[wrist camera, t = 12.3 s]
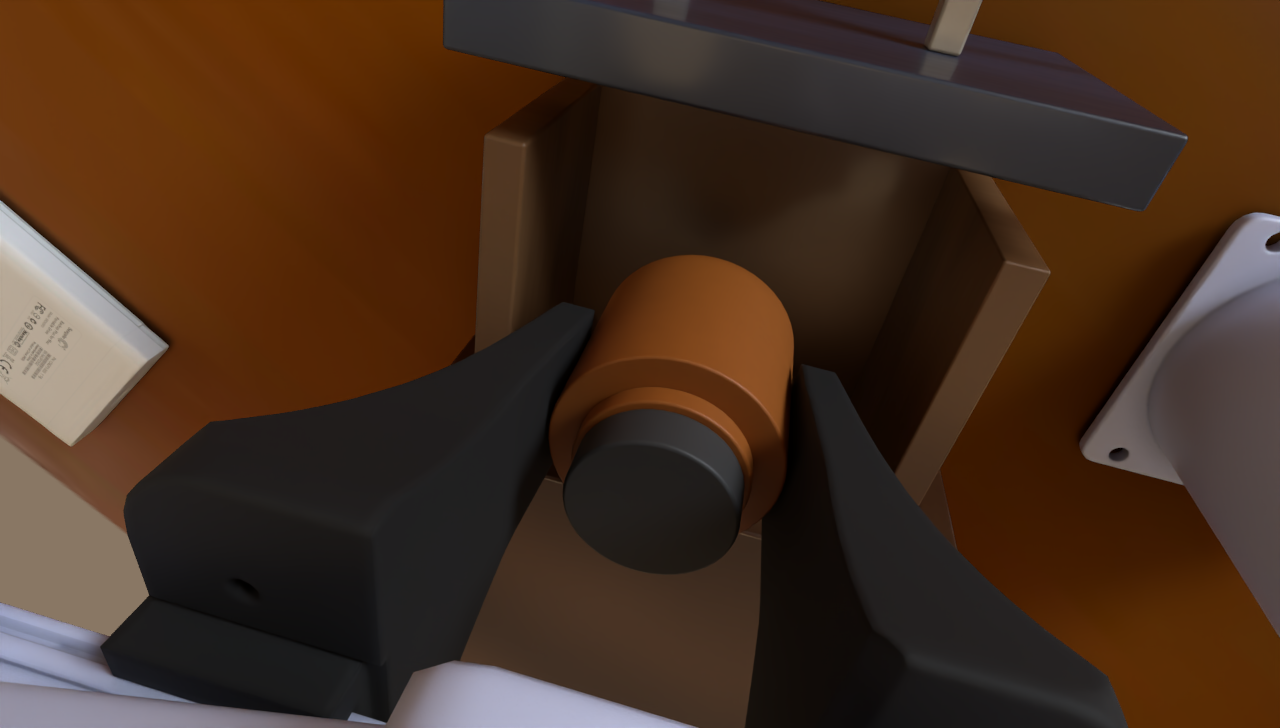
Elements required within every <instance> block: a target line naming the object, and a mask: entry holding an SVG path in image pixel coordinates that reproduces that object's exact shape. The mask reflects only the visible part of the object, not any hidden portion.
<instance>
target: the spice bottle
mask: <svg viewBox="0 0 1280 728" xmlns="http://www.w3.org/2000/svg"><path fill="white" fill-rule="evenodd" d="M793 354H794V338H793V331H792V326H791V323H790V320H789V317H788V314H787V312H786V310H785V308H784V307H783V305H782V303H781V301H780V300H779V299H778V297H777V296H776V295H775V293H774V292H773V291H772V290H771V289H770V288H769V287H768V286H767V285H766V284H765V283H764V282H763V281H762V280H760V279H759V278H758V277H757V276H755V275H754V274H752V273H751V272H749V271H748V270H746V269H744V268H743V267H740V266H738V265H736V264H734V263H732V262H729V261H726V260H722V259H719V258H715V257H709V256H703V255H678V256H672V257H667V258H663V259H660V260H657V261H654V262H651V263H649V264H647V265H645V266H643V267H641V268H639V269H638V270H636V271H635V272H633V273H632V274H631V275H630V276H628V277H627V278H626V279H625V280H624V281H623V282H622V283H621V284H620V286H619V287H618V288H617V289H616V290H615V292H614V294H613V295H612V297H611V299H610V300H609V302H608V304H607V306H606V308H605V310H604V312H603V314H602V316H601V318H600V320H599V321H598V323H597V325H596V327H595V329H594V331H593V333H592V335H591V337H590V339H589V341H588V343H587V344H586V346H585V348H584V350H583V352H582V354H581V356H580V358H579V360H578V362H577V364H576V366H575V367H574V369H573V371H572V373H571V375H570V377H569V379H568V381H567V383H566V385H565V387H564V388H563V390H562V392H561V394H560V396H559V398H558V400H557V402H556V404H555V407H554V409H553V411H552V414H551V418H550V423H549V435H548V439H549V447H550V453H551V457H552V460H553V464H554V466H555V468H556V470H557V473H558V475H559V477H560V478H561V480H562V482H563V483H564V484H563V494H562V495H563V504H564V508H565V512H566V515H567V517H568V519H569V522H570V523H571V525H572V527H573V528H574V530H575V531H576V533H577V534H578V535H579V536H580V538H581V539H582V540H583V541H584V542H585V543H586V544H587V545H588V546H590V547H591V548H592V549H593V550H595V551H596V552H597V553H599V554H600V555H602V556H603V557H605V558H607V559H609V560H610V561H612V562H614V563H616V564H619V565H621V566H623V567H626V568H629V569H632V570H636V571H640V572H644V573H650V574H658V575H678V574H685V573H690V572H694V571H698V570H700V569H703V568H706V567H708V566H710V565H711V564H713V563H715V562H716V561H718V560H719V559H720V558H722V557H723V556H724V555H725V554H726V553H727V552H728V551H729V549H730V548H731V547H732V545H733V544H734V542H735V540H736V538H737V536H738V534H739V533H741V532H743V531H745V530H747V529H749V528H750V527H752V526H753V525H754V524H756V523H757V522H759V521H760V520H761V519H762V518H763V517H764V516H765V515H766V514H767V513H768V512H769V511H770V510H771V508H772V507H773V505H774V504H775V503H776V501H777V500H778V498H779V496H780V494H781V492H782V490H783V486H784V483H785V480H786V474H787V465H788V446H789V428H790V409H791V391H792V372H793Z"/></svg>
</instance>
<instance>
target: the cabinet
mask: <svg viewBox="0 0 1280 728" xmlns="http://www.w3.org/2000/svg"><path fill="white" fill-rule="evenodd" d="M473 354H475V335H474V336H473V337H472V339H471V340H470V341H469V342H468V344H467V345H466V346H465V348H464V349H463V350H462V351H461V353H460V354H459V355H458V356H457V358H456V359H455V360H454V361H453V363H452V364H451V365H453V364H455V363H457V362H459V361H461V360H463V359H465V358H467V357H469V356H471V355H473ZM563 484H564V483H563V482H562V480H561V478H560V477H559V475H558V473H557V470H556V468H555V466H554V464H553V463H552V465H551V467H550V469H549V471H548V473H547V474H546V476H545V478H544V480H543V482H542V483H541V485H540V487H539V489H538V491H537V492H536V494H535V496H534V498H533V500H532V501H531V503H530V505H529V507H528V509H527V510H526V512H525V514H524V516H523V518H522V519H521V521H520V523H519V525H518V527H517V528H516V530H515V532H514V534H513V536H512V538H511V540H510V542H509V544H508V546H507V548H506V550H505V552H504V555H503V557H502V559H501V562H500V564H499V566H498V569H497V571H496V574H495V576H494V578H493V581H492V583H491V585H490V588H489V590H488V593H487V595H486V597H485V600H484V602H483V605H482V607H481V610H480V612H479V615H478V617H477V620H476V622H475V624H474V627H473V629H472V632H471V634H470V637H469V639H468V642H467V644H466V647H465V649H464V652H463V654H462V657H461V660H460V661H462V662H469V663H476V664H484V665H491V666H496V667H500V668H503V669H506V670H510V671H513V672H516V673H520V674H523V675H526V676H529V677H533V678H536V679H539V680H543V681H546V682H549V683H553V684H556V685H559V686H563V687H566V688H569V689H572V690H576V691H579V692H582V693H586V694H589V695H592V696H596V697H599V698H602V699H605V700H609V701H612V702H615V703H619V704H622V705H625V706H629V707H632V708H635V709H639V710H642V711H645V712H648V713H652V714H655V715H658V716H662V717H665V718H668V719H672V720H675V721H678V722H681V723H685V724H688V725H691V726H695V727H698V728H745V722H746V715H747V708H748V701H749V694H750V687H751V680H752V672H753V664H754V657H755V649H756V641H757V633H758V625H759V611H760V581H761V530H762V519H761V520H760V521H759V522H757V523H756V524H754V525H753V526H752V527H750V528H749V529H747V530H745V531H743V532H741V533H739V534H738V536H737V538H736V540H735V542H734V544H733V545H732V547H731V548H730V549H729V551H728V552H727V553H726V554H725V555H724V556H723V557H722V558H720V559H719V560H718V561H716V562H715V563H713V564H711V565H710V566H708V567H706V568H703V569H700V570H698V571H694V572H690V573H685V574H678V575H658V574H650V573H644V572H640V571H636V570H632V569H629V568H626V567H623V566H621V565H619V564H616V563H614V562H612V561H610V560H609V559H607V558H605V557H603V556H602V555H600V554H599V553H597V552H596V551H595V550H593V549H592V548H591V547H590V546H588V545H587V544H586V543H585V542H584V541H583V540H582V539H581V538H580V536H579V535H578V534H577V533H576V531H575V530H574V528H573V527H572V525H571V523H570V522H569V519H568V517H567V515H566V512H565V508H564V504H563V495H562V494H563ZM919 507H920V508H921V510H922V511H923V512H924V513H925V514H926V516H927V517H928V518H929V519H930V520H931V522H932V523H933V524H934V525H935V526H936V528H937V529H938V530H939V531H940V532H941V533H942V534H943V535H944V537H945V538H946V539H947V540H948V541H949V542H950V543H951V544H952V545H953V546H954V547H955V548H956V549H957V545H956V541H955V536H954V532H953V527H952V522H951V518H950V513H949V508H948V504H947V499H946V494H945V490H944V485H943V480H942V476H941V471H940V470H939V471H938V473H937V475H936V477H935V478H934V480H933V482H932V484H931V485H930V487H929V489H928V491H927V492H926V494H925V496H924V498H923V500H922V501H921V503H920V505H919Z"/></svg>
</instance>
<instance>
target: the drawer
mask: <svg viewBox="0 0 1280 728" xmlns="http://www.w3.org/2000/svg"><path fill="white" fill-rule="evenodd" d="M981 3H982V0H940V1H939V3H938V6H937V9H936V11H935V14H934V17H933V19H932V22H931V25H928V24H923V23H919V22H914V21H909V20H905V19H900V18H896V17H891V16H887V15H882V14H878V13H873V12H869V11H864V10H859V9H855V8H850V7H846V6H841V5H837V4H832V3H828V2H823V1H819V0H444V13H443V45H444V47H445V48H446V49H448V50H453V51H457V52H461V53H465V54H470V55H474V56H478V57H483V58H487V59H491V60H495V61H500V62H504V63H508V64H512V65H517V66H521V67H525V68H529V69H534V70H538V71H542V72H546V73H551V74H555V75H559V76H563V77H566V78H565V79H563V80H562V81H561V82H559V83H558V84H556V85H555V86H553V87H552V88H551V89H549V90H548V91H546V92H545V93H543V94H542V95H541V96H539V97H538V98H536V99H535V100H534V101H532V102H531V103H529V104H528V105H526V106H525V107H524V108H522V109H521V110H519V111H518V112H516V113H515V114H514V115H512V116H511V117H509V118H508V119H506V120H505V121H504V122H502V123H501V124H499V125H498V126H496V127H495V128H494V129H492V130H491V131H489V132H488V133H487V134H485V136H484V154H483V177H482V199H481V222H480V244H479V267H478V289H477V312H476V334H475V353H477V352H479V351H481V350H483V349H485V348H487V347H488V346H490V345H492V344H494V343H495V342H497V341H499V340H501V339H502V338H504V337H506V336H508V335H509V334H511V333H513V332H514V331H516V330H518V329H519V328H521V327H523V326H524V325H526V324H527V323H529V322H531V321H532V320H534V319H535V318H537V317H539V316H540V315H542V314H543V313H545V312H547V311H548V310H550V309H551V308H553V307H555V306H557V305H558V304H560V303H562V302H566V303H569V304H573V305H577V306H581V307H585V308H589V309H593V310H595V313H594V319H593V326H592V332H591V335H592V333H593V331H594V329H595V327H596V325H597V323H598V321H599V320H600V318H601V316H602V314H603V312H604V310H605V308H606V306H607V304H608V302H609V300H610V299H611V297H612V295H613V294H614V292H615V290H616V289H617V288H618V287H619V286H620V284H621V283H622V282H623V281H624V280H625V279H626V278H627V277H628V276H630V275H631V274H632V273H633V272H635V271H636V270H638V269H639V268H641V267H643V266H645V265H647V264H649V263H651V262H654V261H657V260H660V259H663V258H667V257H672V256H678V255H703V256H709V257H715V258H719V259H722V260H726V261H729V262H732V263H734V264H736V265H738V266H740V267H743V268H744V269H746V270H748V271H749V272H751V273H752V274H754V275H755V276H757V277H758V278H759V279H760V280H762V281H763V282H764V283H765V284H766V285H767V286H768V287H769V288H770V289H771V290H772V291H773V292H774V293H775V295H776V296H777V297H778V299H779V300H780V301H781V303H782V305H783V307H784V308H785V310H786V312H787V314H788V317H789V320H790V323H791V326H792V331H793V338H794V354H793V372H792V388H793V385H794V382H795V380H796V377H797V374H798V372H799V369H800V366H801V364H804V365H808V366H812V367H816V368H820V369H823V370H827V371H831V372H835V373H836V375H837V376H838V378H839V380H840V382H841V384H842V386H843V387H844V389H845V391H846V393H847V395H848V397H849V399H850V401H851V403H852V404H853V406H854V408H855V410H856V412H857V414H858V416H859V417H860V419H861V421H862V423H863V425H864V426H865V428H866V430H867V432H868V433H869V435H870V437H871V438H872V440H873V442H874V443H875V445H876V447H877V448H878V450H879V452H880V453H881V455H882V456H883V458H884V459H885V461H886V462H887V464H888V465H889V467H890V468H891V470H892V471H893V472H894V474H895V475H896V477H897V478H898V480H899V481H900V482H901V484H902V485H903V487H904V488H905V489H906V491H907V492H908V493H909V495H910V496H911V497H912V499H913V500H914V501H915V502H916V504H917V505H918V506H919V505H920V503H921V501H922V500H923V498H924V496H925V494H926V492H927V491H928V489H929V487H930V485H931V484H932V482H933V480H934V478H935V477H936V475H937V473H938V471H939V470H940V468H941V466H942V464H943V462H944V461H945V459H946V457H947V455H948V454H949V452H950V450H951V448H952V447H953V445H954V443H955V441H956V440H957V438H958V436H959V434H960V432H961V431H962V429H963V427H964V425H965V424H966V422H967V420H968V418H969V417H970V415H971V413H972V411H973V410H974V408H975V406H976V404H977V402H978V401H979V399H980V397H981V395H982V394H983V392H984V390H985V388H986V387H987V385H988V383H989V381H990V380H991V378H992V376H993V374H994V372H995V371H996V369H997V367H998V365H999V364H1000V362H1001V360H1002V358H1003V357H1004V355H1005V353H1006V351H1007V350H1008V348H1009V346H1010V344H1011V342H1012V341H1013V339H1014V337H1015V335H1016V334H1017V332H1018V330H1019V328H1020V327H1021V325H1022V323H1023V321H1024V320H1025V318H1026V316H1027V314H1028V312H1029V311H1030V309H1031V307H1032V305H1033V304H1034V302H1035V300H1036V298H1037V297H1038V295H1039V293H1040V291H1041V290H1042V288H1043V286H1044V284H1045V282H1046V281H1047V279H1048V277H1049V275H1050V270H1049V268H1048V267H1047V265H1046V264H1045V262H1044V260H1043V259H1042V257H1041V256H1040V254H1039V252H1038V251H1037V249H1036V248H1035V246H1034V245H1033V243H1032V241H1031V240H1030V238H1029V237H1028V235H1027V233H1026V232H1025V230H1024V229H1023V227H1022V225H1021V224H1020V222H1019V221H1018V219H1017V217H1016V216H1015V214H1014V213H1013V211H1012V209H1011V208H1010V206H1009V205H1008V203H1007V202H1006V200H1005V198H1004V197H1003V195H1002V194H1001V192H1000V190H999V189H998V187H997V186H996V184H995V182H994V181H993V179H992V178H991V177H994V178H998V179H1002V180H1007V181H1011V182H1015V183H1019V184H1024V185H1028V186H1032V187H1036V188H1041V189H1045V190H1049V191H1053V192H1058V193H1062V194H1066V195H1070V196H1075V197H1079V198H1083V199H1088V200H1092V201H1096V202H1100V203H1105V204H1109V205H1113V206H1117V207H1122V208H1126V209H1130V210H1134V211H1144V210H1145V209H1146V208H1147V206H1148V204H1149V203H1150V201H1151V199H1152V198H1153V196H1154V195H1155V193H1156V191H1157V190H1158V188H1159V186H1160V185H1161V183H1162V182H1163V180H1164V178H1165V177H1166V175H1167V174H1168V172H1169V170H1170V169H1171V167H1172V165H1173V164H1174V162H1175V161H1176V159H1177V157H1178V156H1179V154H1180V152H1181V151H1182V149H1183V148H1184V146H1185V144H1186V143H1187V141H1188V136H1187V135H1185V134H1184V133H1182V132H1181V131H1179V130H1178V129H1176V128H1175V127H1173V126H1171V125H1170V124H1168V123H1167V122H1165V121H1164V120H1162V119H1160V118H1159V117H1157V116H1156V115H1154V114H1153V113H1151V112H1149V111H1148V110H1146V109H1145V108H1143V107H1142V106H1140V105H1138V104H1137V103H1135V102H1134V101H1132V100H1131V99H1129V98H1127V97H1126V96H1124V95H1123V94H1121V93H1120V92H1118V91H1116V90H1115V89H1113V88H1112V87H1110V86H1108V85H1107V84H1105V83H1104V82H1102V81H1101V80H1099V79H1097V78H1096V77H1094V76H1093V75H1091V74H1090V73H1088V72H1086V71H1085V70H1083V69H1082V68H1080V67H1079V66H1077V65H1075V64H1074V63H1072V62H1071V61H1069V60H1068V59H1066V58H1064V57H1063V56H1061V55H1060V54H1058V53H1055V52H1050V51H1046V50H1041V49H1037V48H1032V47H1028V46H1023V45H1019V44H1014V43H1009V42H1005V41H1000V40H996V39H991V38H987V37H982V36H978V35H973V34H969V32H970V30H971V27H972V25H973V22H974V20H975V18H976V15H977V13H978V10H979V8H980V5H981Z"/></svg>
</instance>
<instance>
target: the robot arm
mask: <svg viewBox="0 0 1280 728" xmlns="http://www.w3.org/2000/svg"><path fill="white" fill-rule="evenodd" d="M1279 232H1280V217H1279V216H1274V215H1270V214H1266V213H1251V214H1247V215H1244V216H1242V217H1241V218H1239V219H1237V220H1236V221H1235V222H1234V223H1233V224H1232V225H1231V226H1230V227H1229V228H1228V230H1227V231H1226V232H1225V234H1224V235H1223V237H1222V238H1221V240H1220V241H1219V242H1218V244H1217V245H1216V247H1215V248H1214V250H1213V251H1212V252H1211V254H1210V255H1209V257H1208V258H1207V260H1206V261H1205V262H1204V264H1203V265H1202V267H1201V268H1200V270H1199V271H1198V272H1197V274H1196V275H1195V277H1194V278H1193V280H1192V281H1191V282H1190V284H1189V285H1188V287H1187V288H1186V290H1185V291H1184V292H1183V294H1182V295H1181V297H1180V298H1179V300H1178V301H1177V302H1176V304H1175V305H1174V307H1173V308H1172V310H1171V311H1170V312H1169V314H1168V315H1167V317H1166V318H1165V320H1164V321H1163V322H1162V324H1161V325H1160V327H1159V328H1158V330H1157V331H1156V332H1155V334H1154V335H1153V337H1152V338H1151V340H1150V341H1149V342H1148V344H1147V345H1146V347H1145V348H1144V350H1143V351H1142V352H1141V354H1140V355H1139V357H1138V358H1137V360H1136V361H1135V362H1134V364H1133V365H1132V367H1131V368H1130V370H1129V371H1128V372H1127V374H1126V375H1125V377H1124V378H1123V380H1122V381H1121V382H1120V384H1119V385H1118V387H1117V388H1116V390H1115V391H1114V392H1113V394H1112V395H1111V397H1110V398H1109V400H1108V401H1107V402H1106V404H1105V405H1104V407H1103V408H1102V410H1101V411H1100V412H1099V414H1098V415H1097V417H1096V418H1095V420H1094V421H1093V422H1092V424H1091V425H1090V427H1089V428H1088V430H1087V431H1086V432H1085V434H1084V435H1083V437H1082V438H1081V440H1080V443H1079V446H1080V450H1081V452H1082V454H1083V455H1084V456H1085V458H1086V459H1088V460H1090V461H1093V462H1097V463H1100V464H1104V465H1108V466H1112V467H1116V468H1119V469H1123V470H1127V471H1131V472H1135V473H1139V474H1142V475H1146V476H1150V477H1154V478H1158V479H1161V480H1165V481H1169V482H1173V483H1177V484H1181V485H1184V486H1185V487H1186V489H1187V490H1188V492H1189V494H1190V495H1191V497H1192V498H1193V500H1194V502H1195V503H1196V505H1197V506H1198V508H1199V510H1200V511H1201V513H1202V514H1203V516H1204V518H1205V519H1206V521H1207V522H1208V524H1209V526H1210V527H1211V529H1212V530H1213V532H1214V534H1215V535H1216V537H1217V538H1218V540H1219V542H1220V543H1221V545H1222V546H1223V548H1224V549H1225V551H1226V553H1227V554H1228V556H1229V557H1230V559H1231V561H1232V562H1233V564H1234V565H1235V567H1236V569H1237V570H1238V572H1239V573H1240V575H1241V577H1242V578H1243V580H1244V581H1245V583H1246V585H1247V586H1248V588H1249V589H1250V591H1251V593H1252V594H1253V596H1254V597H1255V599H1256V601H1257V602H1258V604H1259V605H1260V607H1261V608H1262V610H1263V612H1264V613H1265V615H1266V616H1267V618H1268V620H1269V621H1270V623H1271V624H1272V626H1273V628H1274V629H1275V631H1276V632H1277V634H1278V636H1279V637H1280V240H1279V241H1278V242H1277V243H1275V244H1273V245H1270V246H1265V244H1266V241H1267V239H1268V238H1270V237H1271V236H1272V235H1274V234H1276V233H1279ZM594 313H595V310H593V309H589V308H585V307H581V306H577V305H573V304H569V303H566V302H562V303H560V304H558V305H557V306H555V307H553V308H551V309H550V310H548V311H547V312H545V313H543V314H542V315H540V316H539V317H537V318H535V319H534V320H532V321H531V322H529V323H527V324H526V325H524V326H523V327H521V328H519V329H518V330H516V331H514V332H513V333H511V334H509V335H508V336H506V337H504V338H502V339H501V340H499V341H497V342H495V343H494V344H492V345H490V346H488V347H487V348H485V349H483V350H481V351H479V352H477V353H475V354H473V355H471V356H469V357H467V358H465V359H463V360H461V361H459V362H457V363H455V364H453V365H450V366H448V367H446V368H443V369H441V370H439V371H436V372H434V373H431V374H429V375H426V376H423V377H421V378H418V379H416V380H413V381H410V382H407V383H405V384H402V385H399V386H395V387H392V388H388V389H385V390H382V391H378V392H375V393H371V394H368V395H365V396H361V397H358V398H354V399H350V400H346V401H342V402H337V403H333V404H329V405H324V406H319V407H314V408H309V409H304V410H298V411H293V412H287V413H280V414H273V415H265V416H257V417H249V418H241V419H233V420H225V421H214V422H210V423H208V424H207V425H206V426H205V427H203V428H202V429H201V430H200V431H198V432H197V433H196V434H195V435H193V436H192V437H191V438H190V439H189V440H187V441H186V442H185V443H184V444H183V445H182V446H180V447H179V448H178V449H177V450H176V451H175V452H173V453H172V454H171V455H170V456H169V457H168V458H166V459H165V460H164V461H163V462H162V463H161V464H159V465H158V466H157V467H156V468H155V469H154V470H153V471H151V472H150V473H149V474H148V475H147V476H146V477H144V478H143V479H142V480H141V481H140V482H139V483H138V484H137V485H136V486H135V487H134V488H133V489H132V490H131V491H130V492H129V493H128V494H127V498H126V502H125V506H124V519H125V524H126V529H127V534H128V537H129V540H130V543H131V546H132V548H133V551H134V554H135V556H136V559H137V562H138V565H139V568H140V570H141V573H142V576H143V578H144V581H145V584H146V587H147V590H148V593H149V596H148V597H147V599H146V600H145V601H144V602H143V603H142V604H141V605H140V606H139V607H138V608H137V609H136V610H135V611H134V612H133V613H132V614H131V615H130V616H129V617H128V618H127V619H126V620H125V621H124V622H123V623H122V625H120V627H119V628H118V629H117V630H116V631H115V632H114V633H113V634H112V635H111V636H107V635H103V634H100V633H97V632H94V631H91V630H87V629H84V628H81V627H77V626H75V625H71V624H68V623H65V622H62V621H59V620H55V619H52V618H49V617H46V616H43V615H39V614H36V613H33V612H30V611H27V610H23V609H20V608H17V607H14V606H10V605H7V604H4V603H1V602H0V728H698V727H695V726H691V725H688V724H685V723H681V722H678V721H675V720H672V719H668V718H665V717H662V716H658V715H655V714H652V713H648V712H645V711H642V710H639V709H635V708H632V707H629V706H625V705H622V704H619V703H615V702H612V701H609V700H605V699H602V698H599V697H596V696H592V695H589V694H586V693H582V692H579V691H576V690H572V689H569V688H566V687H563V686H559V685H556V684H553V683H549V682H546V681H543V680H539V679H536V678H533V677H529V676H526V675H523V674H520V673H516V672H513V671H510V670H506V669H503V668H500V667H496V666H491V665H484V664H476V663H469V662H462V661H460V660H461V657H462V654H463V652H464V649H465V647H466V644H467V642H468V639H469V637H470V634H471V632H472V629H473V627H474V624H475V622H476V620H477V617H478V615H479V612H480V610H481V607H482V605H483V602H484V600H485V597H486V595H487V593H488V590H489V588H490V585H491V583H492V581H493V578H494V576H495V574H496V571H497V569H498V566H499V564H500V562H501V559H502V557H503V555H504V552H505V550H506V548H507V546H508V544H509V542H510V540H511V538H512V536H513V534H514V532H515V530H516V528H517V527H518V525H519V523H520V521H521V519H522V518H523V516H524V514H525V512H526V510H527V509H528V507H529V505H530V503H531V501H532V500H533V498H534V496H535V494H536V492H537V491H538V489H539V487H540V485H541V483H542V482H543V480H544V478H545V476H546V474H547V473H548V471H549V469H550V467H551V465H552V463H553V460H552V457H551V453H550V447H549V439H548V435H549V423H550V418H551V414H552V411H553V409H554V407H555V404H556V402H557V400H558V398H559V396H560V394H561V392H562V390H563V388H564V387H565V385H566V383H567V381H568V379H569V377H570V375H571V373H572V371H573V369H574V367H575V366H576V364H577V362H578V360H579V358H580V356H581V354H582V352H583V350H584V348H585V346H586V344H587V343H588V341H589V339H590V337H591V332H592V326H593V319H594ZM1116 448H1123V449H1122V450H1121V451H1120V452H1116V453H1109V452H1111V451H1112V450H1113V449H1116ZM745 728H1128V726H1127V723H1126V720H1125V718H1124V715H1123V712H1122V709H1121V707H1120V705H1119V702H1118V700H1117V697H1116V695H1115V693H1114V690H1113V688H1112V686H1111V684H1110V682H1109V679H1108V677H1107V676H1106V675H1105V674H1104V673H1102V672H1101V671H1100V670H1098V669H1097V668H1096V667H1094V666H1093V665H1092V664H1090V663H1089V662H1088V661H1086V660H1085V659H1084V658H1082V657H1081V656H1080V655H1078V654H1077V653H1076V652H1074V651H1073V650H1072V649H1070V648H1069V647H1068V646H1066V645H1065V644H1064V643H1062V642H1061V641H1060V640H1058V639H1057V638H1056V637H1054V636H1053V635H1051V634H1050V633H1049V632H1047V631H1046V630H1045V629H1044V628H1042V627H1041V626H1040V625H1039V624H1037V623H1036V622H1035V621H1034V620H1033V619H1031V618H1030V617H1029V616H1028V615H1027V614H1026V613H1024V612H1023V611H1022V610H1021V609H1020V608H1019V607H1017V606H1016V605H1015V604H1014V603H1013V602H1011V601H1010V600H1009V599H1008V598H1007V597H1006V596H1004V595H1003V594H1002V593H1001V592H1000V591H999V590H998V589H997V588H996V587H995V586H993V585H992V584H991V583H990V582H989V581H988V580H987V579H986V578H985V577H984V576H983V575H982V574H981V573H980V572H979V571H978V570H977V569H976V568H975V567H974V566H973V565H972V564H971V563H970V562H969V561H968V560H967V559H966V558H965V557H964V556H963V555H962V554H961V553H960V552H959V551H958V550H957V549H956V548H955V547H954V546H953V545H952V544H951V543H950V542H949V541H948V540H947V539H946V538H945V537H944V535H943V534H942V533H941V532H940V531H939V530H938V529H937V528H936V526H935V525H934V524H933V523H932V522H931V520H930V519H929V518H928V517H927V516H926V514H925V513H924V512H923V511H922V510H921V508H920V507H919V506H918V505H917V504H916V502H915V501H914V500H913V499H912V497H911V496H910V495H909V493H908V492H907V491H906V489H905V488H904V487H903V485H902V484H901V482H900V481H899V480H898V478H897V477H896V475H895V474H894V472H893V471H892V470H891V468H890V467H889V465H888V464H887V462H886V461H885V459H884V458H883V456H882V455H881V453H880V452H879V450H878V448H877V447H876V445H875V443H874V442H873V440H872V438H871V437H870V435H869V433H868V432H867V430H866V428H865V426H864V425H863V423H862V421H861V419H860V417H859V416H858V414H857V412H856V410H855V408H854V406H853V404H852V403H851V401H850V399H849V397H848V395H847V393H846V391H845V389H844V387H843V386H842V384H841V382H840V380H839V378H838V376H837V375H836V373H835V372H831V371H827V370H823V369H820V368H816V367H812V366H808V365H804V364H801V366H800V369H799V372H798V374H797V377H796V380H795V382H794V385H793V388H792V391H791V409H790V428H789V446H788V465H787V474H786V480H785V483H784V486H783V490H782V492H781V494H780V496H779V498H778V500H777V501H776V503H775V504H774V505H773V507H772V508H771V510H770V511H769V512H768V513H767V514H766V515H765V516H764V517H763V518H762V530H761V581H760V611H759V625H758V633H757V641H756V649H755V657H754V664H753V672H752V680H751V687H750V694H749V701H748V708H747V715H746V722H745Z"/></svg>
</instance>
